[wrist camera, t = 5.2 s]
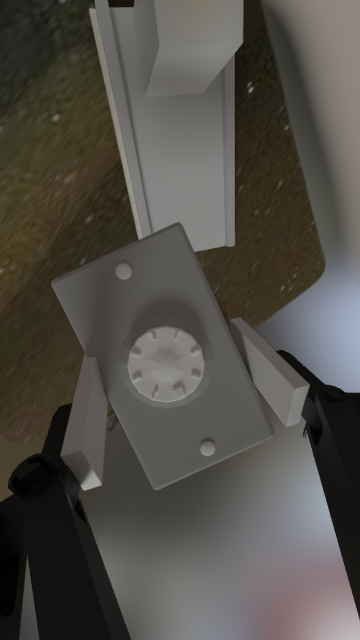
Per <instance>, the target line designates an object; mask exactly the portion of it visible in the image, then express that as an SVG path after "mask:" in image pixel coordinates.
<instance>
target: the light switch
mask: <svg viewBox="0 0 360 640" xmlns="http://www.w3.org/2000/svg"><path fill="white" fill-rule="evenodd" d="M51 285H52V287H53V289H54V291H55V293H56V295H57V297H58V299H59V301H60V303H61V305H62V307H63V309H64V311H65V313H66V315H67V317H68V319H69V321H70V323H71V325H72V327H73V329H74V331H75V333H76V335H77V337H78V339H79V341H80V343H81V345H82V347H83V349H84V351H85V353H86V355H87V357H96V358H97V362H98V366H99V371H100V375H101V379H102V383H103V387H104V391H105V393H106V395H107V397H108V399H109V401H110V403H111V405H112V407H113V409H114V411H115V413H116V415H117V417H118V419H119V421H120V423H121V425H122V427H123V429H124V431H125V433H126V435H127V437H128V439H129V441H130V443H131V445H132V447H133V449H134V451H135V453H136V454H137V457H138V459H139V461H140V463H141V465H142V467H143V469H144V471H145V473H146V475H147V477H148V479H149V481H150V483H151V484H152V487H153V489H155V490H159V489H161V488H163V487H165V486H167V485H170V484H172V483H174V482H176V481H178V480H181V479H183V478H185V477H187V476H189V475H192V474H194V473H196V472H198V471H200V470H203V469H205V468H207V467H209V466H211V465H214V464H216V463H218V462H220V461H222V460H224V459H227V458H229V457H231V456H233V455H235V454H238V453H240V452H242V451H244V450H246V449H249V448H251V447H253V446H255V445H258V444H260V443H262V442H264V441H267V440H269V439H271V438H273V437H274V436H275V431H274V429H273V426H272V424H271V422H270V420H269V418H268V415H267V413H266V411H265V409H264V406H263V404H262V402H261V400H260V398H259V395H258V393H257V391H256V388H255V386H254V384H253V382H252V379H251V377H250V375H249V373H248V371H247V368H246V366H245V364H244V362H243V359H242V357H241V355H240V353H239V350H238V348H237V346H236V344H235V341H234V339H233V337H232V335H231V333H230V330H229V328H228V326H227V324H226V321H225V319H224V317H223V315H222V312H221V310H220V308H219V306H218V303H217V301H216V299H215V297H214V295H213V292H212V290H211V288H210V286H209V283H208V281H207V279H206V277H205V274H204V272H203V270H202V268H201V265H200V263H199V261H198V259H197V257H196V254H195V252H194V250H193V248H192V245H191V243H190V241H189V239H188V236H187V234H186V232H185V230H184V227H183V225H182V224H181V223H180V222H177V223H174V224H172V225H169V226H167V227H165V228H163V229H161V230H159V231H157V232H154V233H152V234H150V235H148V236H146V237H144V238H142V239H139V240H137V241H135V242H133V243H131V244H129V245H127V246H124V247H122V248H120V249H118V250H116V251H114V252H112V253H109V254H107V255H105V256H103V257H101V258H99V259H97V260H95V261H92V262H90V263H88V264H86V265H84V266H82V267H80V268H77V269H75V270H73V271H71V272H69V273H67V274H65V275H62V276H60V277H58V278H56V279H54V280H53V281H52V282H51ZM150 328H151V329H150ZM183 329H184V330H183ZM147 330H148V331H147ZM146 331H147V332H146ZM143 333H144V334H143ZM140 335H141V336H140ZM192 335H193V336H194V337H193V336H192ZM139 336H140V337H139ZM195 339H196V340H195ZM198 343H199V344H198ZM200 346H201V347H200Z"/></svg>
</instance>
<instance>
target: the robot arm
mask: <svg viewBox="0 0 360 640" xmlns="http://www.w3.org/2000/svg"><path fill="white" fill-rule="evenodd" d="M230 333H231V335H232V337H233V339H234V341H235V344H236V346H237V348H238V350H239V353H240V355H241V357H242V359H243V362H244V364H245V366H246V368H247V371H248V373H249V375H250V377H251V379H252V381H253V383H254V384H255V386H256V387H257V388H258V390H259V391H260V392H261V394H262V395H263V396H264V398H265V399H266V400H267V402H268V403H269V405H270V406H271V407H272V409H273V410H274V411H275V413H276V414H277V415H278V417H279V418H280V420H281V421H282V422H283V424H284V425H285V426H286V427H288V426H291V425H294V424H297V423H299V422H300V419H301V415H302V416H303V418H304V419H305V420H306V421H307V422H306V425H305V428H304V432H303V437H306V435H307V434H308V437H309V440H310V444H311V448H312V451H313V455H314V458H315V462H316V466H317V469H318V473H319V476H320V480H321V483H322V487H323V491H324V494H325V497H326V501H327V505H328V508H329V512H330V515H331V519H332V523H333V526H334V530H335V533H336V537H337V540H338V544H339V548H340V551H341V555H342V558H343V562H344V565H345V569H346V572H347V576H348V580H349V583H350V587H351V590H352V594H353V597H354V601H355V604H356V608H357V611H358V615H359V619H360V393H347V392H344V391H343V390H341V389H340V388H337V387H335V386H332V385H325V384H324V383H323V382H322V381H320V380H319V379H318V378H317V377H316V376H315V375H313V373H312V372H310V371H309V370H308V369H307V368H306V367H305V366H303V364H301V363H300V362H299V361H298V360H297V359H296V358H295V357H294V356H293V355H291V354H290V353H288V352H286V351H284V350H279V351H274V350H273V349H272V348H271V347H270V346H269V345H268V344H267V343H266V342H265V341H264V340H263V339H262V338H261V337H260V336H259V335H258V334H257V333H256V332H255V331H254V330H253V329H252V328H251V327H250V326H249V325H248V324H247V323H246V322H245V321H243V320H242V319H241V318H235V319H230ZM107 403H108V397H107V395H106V393H105V391H104V387H103V383H102V379H101V375H100V371H99V366H98V362H97V358H96V357H87V355H86V353H85V354H84V359H83V363H82V367H81V371H80V375H79V379H78V384H77V388H76V392H75V396H74V400H73V403H71V404H67V405H63V406H60V407H59V408H58V410H57V411H56V413H55V414H54V415H53V418H52V421H51V424H50V428H49V431H48V436H47V437H46V440H45V444H44V447H43V449H42V453H40V454H34V455H32V456H30V457H28V458H27V459H25V460H24V461H23V462H22V463H20V464H19V465H18V466H17V468H16V469H15V470H14V471H13V473H12V475H11V477H10V479H9V483H8V488H9V489H10V490H11V491H12V492H13V493H14V494H13V495H11V496H10V497H8V498H6V499H5V500H3V501H1V502H0V640H19V635H20V624H21V614H22V602H23V592H24V582H25V571H26V560H27V555H28V562H29V569H30V576H31V583H32V590H33V598H34V605H35V611H36V619H37V626H38V633H39V640H131V638H130V635H129V632H128V630H127V627H126V624H125V622H124V618H123V616H122V613H121V610H120V608H119V605H118V602H117V599H116V596H115V594H114V591H113V588H112V585H111V582H110V580H109V577H108V574H107V571H106V569H105V566H104V563H103V560H102V558H101V555H100V552H99V549H98V546H97V544H96V541H95V538H94V536H93V533H92V530H91V527H90V524H89V522H88V519H87V516H86V513H85V510H84V508H83V505H82V502H81V500H80V498H79V497H78V495H79V488H80V485H81V487H82V488H83V490H88V489H91V488H94V487H97V486H100V485H102V477H103V463H104V448H105V447H104V446H105V433H106V418H107Z"/></svg>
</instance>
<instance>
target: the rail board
mask: <svg viewBox="0 0 360 640" xmlns="http://www.w3.org/2000/svg"><path fill="white" fill-rule="evenodd" d="M89 11H90V18H91V23H92V28H93V33H94V37H95V42H96V46H97V51H98V56H99V60H100V65H101V69H102V74H103V79H104V83H105V88H106V92H107V97H108V102H109V106H110V111H111V115H112V120H113V125H114V129H115V134H116V138H117V143H118V148H119V152H120V157H121V161H122V166H123V171H124V175H125V180H126V184H127V189H128V194H129V198H130V203H131V208H132V212H133V217H134V221H135V226H136V231H137V235H138V240H139V239H142V238H144V237H146V236H148V235H150V234H152V233H154V232H157V231H159V230H161V229H163V228H165V227H167V226H169V225H172V224H174V223H177V222H180V223H181V224H182V225H183V227H184V230H185V232H186V234H187V236H188V239H189V241H190V243H191V245H192V248H193V250H194V252H196V251H201V250H206V249H211V248H216V247H221V246H227V247H230V246H235V52H236V51H237V50H238V48H239V47H240V46H241V45H242V43H243V0H134V7H122V8H109V6H108V0H95V9H89Z"/></svg>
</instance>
